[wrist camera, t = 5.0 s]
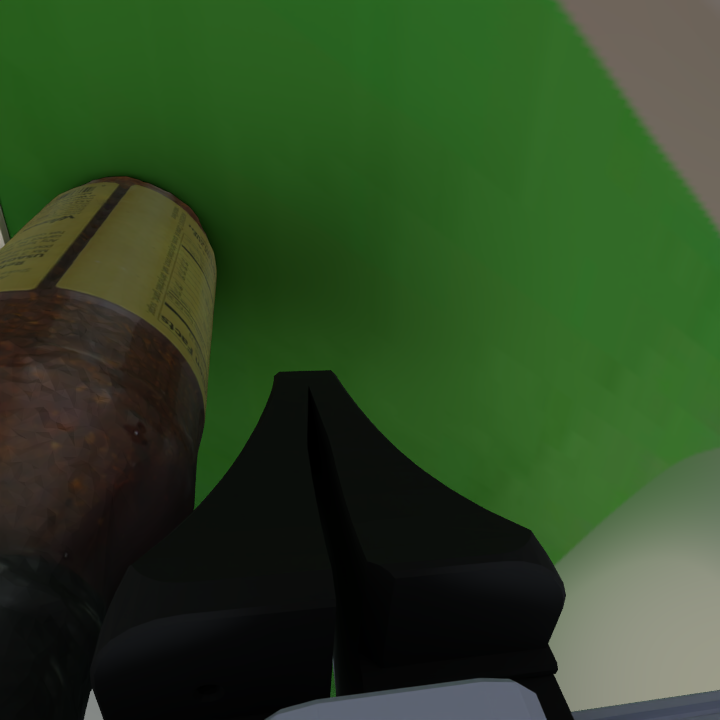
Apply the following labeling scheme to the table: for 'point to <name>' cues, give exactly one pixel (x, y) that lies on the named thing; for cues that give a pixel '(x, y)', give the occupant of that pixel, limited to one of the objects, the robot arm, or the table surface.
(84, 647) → the sauce bottle
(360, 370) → the table surface
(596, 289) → the table surface
